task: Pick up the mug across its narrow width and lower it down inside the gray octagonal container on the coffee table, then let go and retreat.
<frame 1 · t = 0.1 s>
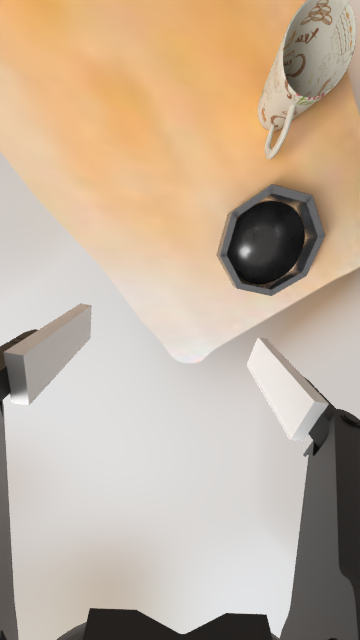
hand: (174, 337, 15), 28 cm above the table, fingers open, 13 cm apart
mug: (270, 125, 31), on the table
gray octagonal container: (264, 245, 38), on the table
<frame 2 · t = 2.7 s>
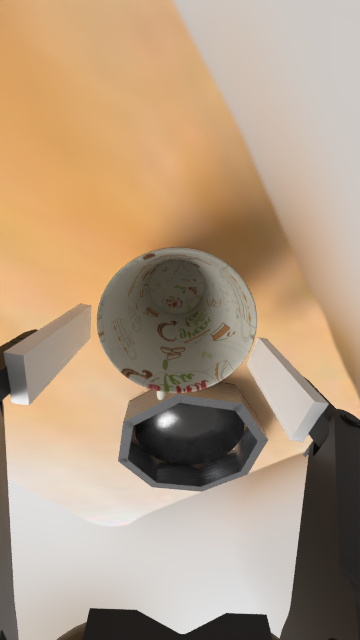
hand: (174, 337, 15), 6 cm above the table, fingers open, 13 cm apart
mug: (173, 306, 20), on the table
gray octagonal container: (189, 429, 27), on the table
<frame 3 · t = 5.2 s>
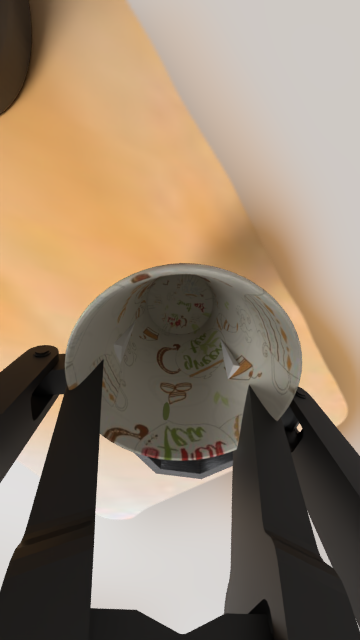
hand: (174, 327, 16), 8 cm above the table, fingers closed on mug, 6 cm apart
mug: (176, 325, 17), point 7 cm above the table, touching gripper
gray octagonal container: (190, 419, 30), on the table
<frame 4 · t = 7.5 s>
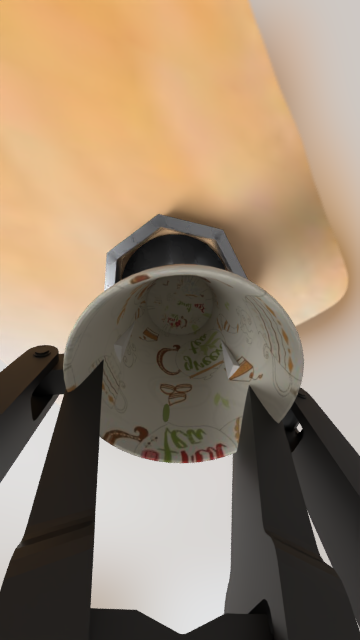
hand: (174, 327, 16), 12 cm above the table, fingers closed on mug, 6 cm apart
mug: (176, 325, 17), point 12 cm above the table, touching gripper
gray octagonal container: (175, 292, 28), on the table
when the fingers open (1 cm above the table, at t = 10.0 s): mug stays where it is, resting on gray octagonal container.
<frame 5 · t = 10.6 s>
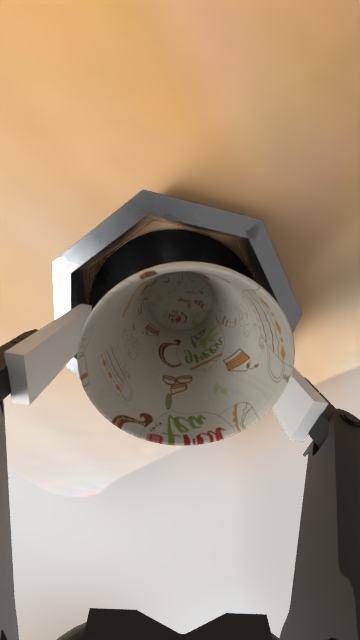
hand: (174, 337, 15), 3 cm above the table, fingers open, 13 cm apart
mug: (177, 321, 17), resting on gray octagonal container
gray octagonal container: (175, 321, 18), on the table
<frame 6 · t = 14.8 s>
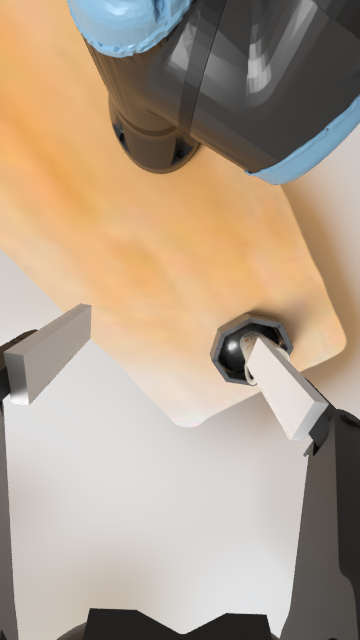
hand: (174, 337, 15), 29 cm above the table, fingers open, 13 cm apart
mug: (248, 348, 48), resting on gray octagonal container
gray octagonal container: (247, 348, 48), on the table
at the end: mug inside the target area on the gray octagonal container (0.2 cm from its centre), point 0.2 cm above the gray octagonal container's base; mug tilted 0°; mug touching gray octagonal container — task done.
